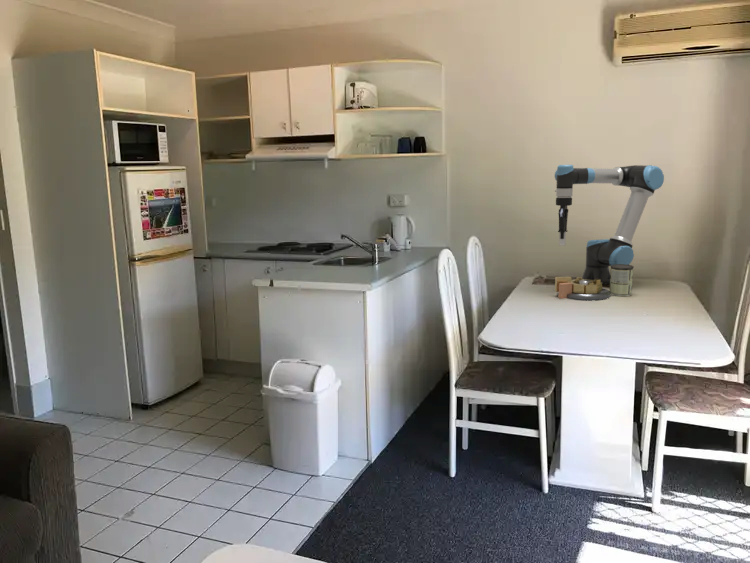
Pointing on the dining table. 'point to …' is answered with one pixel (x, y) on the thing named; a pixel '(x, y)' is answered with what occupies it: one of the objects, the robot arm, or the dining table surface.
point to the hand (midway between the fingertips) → (562, 245)
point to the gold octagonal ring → (580, 285)
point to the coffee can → (621, 280)
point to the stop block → (564, 290)
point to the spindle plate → (599, 296)
